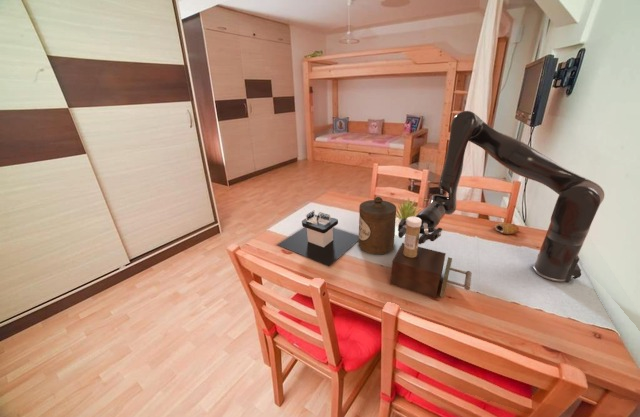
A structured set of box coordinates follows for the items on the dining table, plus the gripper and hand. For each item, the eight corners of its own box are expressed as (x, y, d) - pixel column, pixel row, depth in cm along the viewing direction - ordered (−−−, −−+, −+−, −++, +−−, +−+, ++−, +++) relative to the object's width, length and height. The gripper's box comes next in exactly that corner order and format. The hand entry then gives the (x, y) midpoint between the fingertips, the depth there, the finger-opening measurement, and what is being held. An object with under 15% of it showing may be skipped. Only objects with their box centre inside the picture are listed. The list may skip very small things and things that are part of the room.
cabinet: (441, 275, 93) (445, 253, 89) (435, 298, 83) (440, 274, 79) (400, 264, 100) (402, 242, 96) (390, 284, 90) (392, 261, 86)
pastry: (509, 226, 123) (512, 218, 121) (522, 233, 117) (525, 225, 115) (492, 228, 121) (494, 221, 120) (504, 235, 115) (506, 228, 114)
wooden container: (357, 236, 120) (358, 191, 111) (390, 236, 119) (393, 190, 110) (359, 254, 106) (361, 205, 97) (396, 255, 105) (401, 205, 96)
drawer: (468, 282, 88) (473, 263, 85) (466, 304, 79) (471, 284, 76) (408, 265, 97) (410, 247, 94) (400, 284, 88) (402, 265, 85)
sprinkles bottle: (419, 255, 88) (424, 219, 83) (410, 259, 86) (415, 223, 80) (408, 249, 92) (413, 214, 86) (400, 253, 90) (403, 218, 84)
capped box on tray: (362, 237, 119) (363, 210, 113) (329, 266, 100) (328, 236, 94) (313, 221, 134) (312, 197, 129) (277, 244, 115) (273, 217, 110)
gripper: (409, 205, 98) (389, 222, 87) (450, 214, 90) (434, 235, 78) (407, 222, 101) (388, 241, 90) (447, 233, 93) (430, 256, 81)
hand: (409, 238), depth 84 cm, fingers open, 6 cm apart
